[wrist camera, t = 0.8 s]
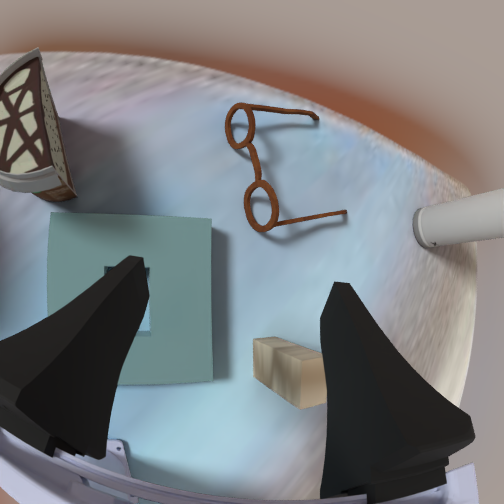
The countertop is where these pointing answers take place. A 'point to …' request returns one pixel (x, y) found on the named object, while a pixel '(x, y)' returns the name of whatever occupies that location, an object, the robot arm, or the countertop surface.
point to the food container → (32, 133)
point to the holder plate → (160, 286)
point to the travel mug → (461, 220)
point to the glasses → (257, 167)
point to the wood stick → (290, 371)
